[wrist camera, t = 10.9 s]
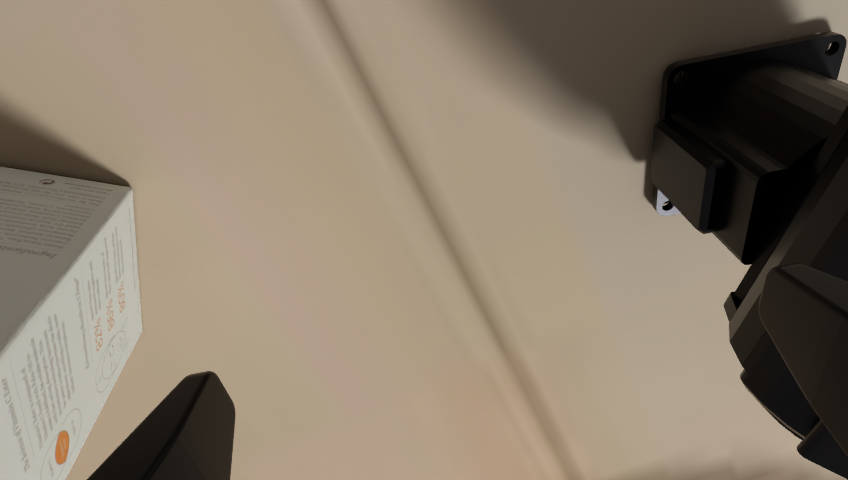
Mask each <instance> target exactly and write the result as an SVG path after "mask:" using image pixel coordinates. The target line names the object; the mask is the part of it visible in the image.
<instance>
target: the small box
mask: <svg viewBox="0 0 848 480" xmlns="http://www.w3.org/2000/svg"><path fill="white" fill-rule="evenodd" d="M142 329H143V328H142V319H141V306H140V291H139V278H138V263H137V249H136V235H135V222H134V207H133V191H132V188H131V187H126V186H120V185H113V184H107V183H101V182H95V181H89V180H82V179H76V178H70V177H63V176H57V175H51V174H44V173H38V172H31V171H25V170H19V169H13V168H6V167H0V480H65V479H66V477H67V475H68V474H69V472H70V470H71V468H72V466H73V464H74V462H75V460H76V458H77V456H78V454H79V452H80V450H81V448H82V446H83V445H84V443H85V441H86V439H87V437H88V435H89V433H90V431H91V429H92V427H93V425H94V423H95V421H96V419H97V417H98V415H99V414H100V412H101V410H102V408H103V406H104V404H105V402H106V400H107V398H108V396H109V394H110V392H111V390H112V388H113V386H114V385H115V383H116V381H117V379H118V377H119V375H120V373H121V371H122V369H123V367H124V365H125V363H126V362H127V360H128V358H129V356H130V354H131V352H132V350H133V348H134V346H135V344H136V342H137V340H138V338H139V336H140V335H141V333H142Z"/></svg>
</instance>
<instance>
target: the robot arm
mask: <svg viewBox="0 0 848 480" xmlns="http://www.w3.org/2000/svg"><path fill="white" fill-rule="evenodd" d="M830 43H831V47H830V48H829V49H828V50H827V51H826V52H825V49H826V47H827V46H828V45H829V44H830ZM845 48H846V39H845V37H844V36H843V35H841V34H837V33H834V32H826V33H821V34H815V35H810V36H805V37H800V38H795V39H790V40H785V41H780V42H775V43H770V44H765V45H760V46H755V47H750V48H745V49H740V50H735V51H730V52H724V53H719V54H714V55H709V56H704V57H699V58H694V59H689V60H684V61H679V62H676V63H673V64H671V65H670V66H669V67H668V68H667V69H666V70H665V72H664V74H663V78H662V91H661V103H660V115H659V120H658V121H657V123H656V124H655V126H654V133H653V146H652V159H651V172H650V181H651V182H652V183H653V184H654V189H653V201H652V205H653V208H654V209H655V210H656V211H657V212H658V213H659V214H660V215H662V216H667V215H673V214H678V213H681V214H682V215H683V216H684V217H685V218H686V219H687V220H688V221H689V222H690V223H691V224H692V225H693V226H694V227H695V228H696V229H697V230H698V231H700V232H701V233H703V234H707V233H713V234H714V235H715V236H716V237H717V238H718V239H719V240H720V241H721V242H722V243H723V244H724V245H725V246H726V247H727V248H728V249H729V250H730V251H731V252H732V253H733V254H734V255H735V256H736V257H737V258H738V259H739V260H740V261H741V262H742V263H743V264H744V265H750V264H752V265H751V266H750V268H749V270H748V271H747V273H746V275H745V276H744V278H743V280H742V281H741V283H740V285H739V286H738V288H737V290H736V291H735V292H731V293H730V295H729V296H728V298H727V300H726V301H725V303H724V308H725V311H726V314H727V317H728V320H729V336H730V343H731V345H732V347H733V349H734V351H735V353H736V355H737V357H738V359H739V361H740V363H741V365H742V366H743V368H744V370H743V372H742V373H741V374H740V378H741V380H742V382H743V384H744V385H745V387H746V389H747V390H748V391H749V392H750V393H751V394H752V395H753V396H754V397H755V398H756V399H757V401H758V402H759V403H760V404H761V405H762V406H763V407H764V408H765V409H766V410H767V411H768V412H769V413H770V414H771V415H772V416H773V417H774V418H775V419H776V420H777V421H778V422H779V423H780V424H781V425H782V426H784V427H785V428H786V429H787V430H789V431H790V432H791V433H793V434H794V435H795V436H796V437H798V438H800V439H801V440H802V441H801V442H800V444H799V445H798V446H797V451H798V452H799V454H800V455H802V456H803V457H804V458H806V459H808V460H810V461H812V462H814V463H816V464H818V465H820V466H822V467H824V468H826V469H828V470H830V471H832V472H834V473H836V474H838V475H840V476H842V477H844V478H846V479H848V84H846V83H844V82H841V81H839V80H837V78H838V74H839V70H840V67H841V63H842V59H843V56H844V52H845ZM679 72H683V75H682V78H681V79H680V80H679V81H677V82H674V78H675V76H676V75H677V74H678V73H679ZM666 201H669V203H668V204H667V205H665V206H663V204H664V203H665V202H666ZM234 426H235V407H234V404H233V401H232V400H231V398H230V396H229V394H228V393H227V391H226V389H225V388H224V386H223V384H222V383H221V381H220V379H219V377H218V376H217V375H216V374H215V373H214V372H212V371H207V372H201V373H196V374H191V375H188V376H186V377H185V378H184V379H183V380H182V381H181V382H180V383H179V384H178V385H177V386H176V387H175V388H174V389H173V390H172V391H171V392H170V393H169V394H168V395H167V397H166V398H165V399H164V400H163V401H162V402H161V403H160V404H159V405H158V406H157V407H156V408H155V409H154V410H153V411H152V412H151V413H150V414H149V415H148V416H147V417H146V418H145V419H144V421H143V422H142V423H141V424H140V425H139V426H138V427H137V428H136V429H135V430H134V431H133V432H132V433H131V434H130V435H129V436H128V437H127V438H126V439H125V440H124V441H123V442H122V444H121V445H120V446H119V447H118V448H117V449H116V450H115V451H114V452H113V453H112V454H111V455H110V456H109V457H108V458H107V459H106V460H105V461H104V462H103V463H102V464H101V465H100V466H99V468H98V469H97V470H96V471H95V472H94V473H93V474H92V475H91V476H90V477H89V478H88V479H87V480H230V475H231V463H232V451H233V438H234Z"/></svg>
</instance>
